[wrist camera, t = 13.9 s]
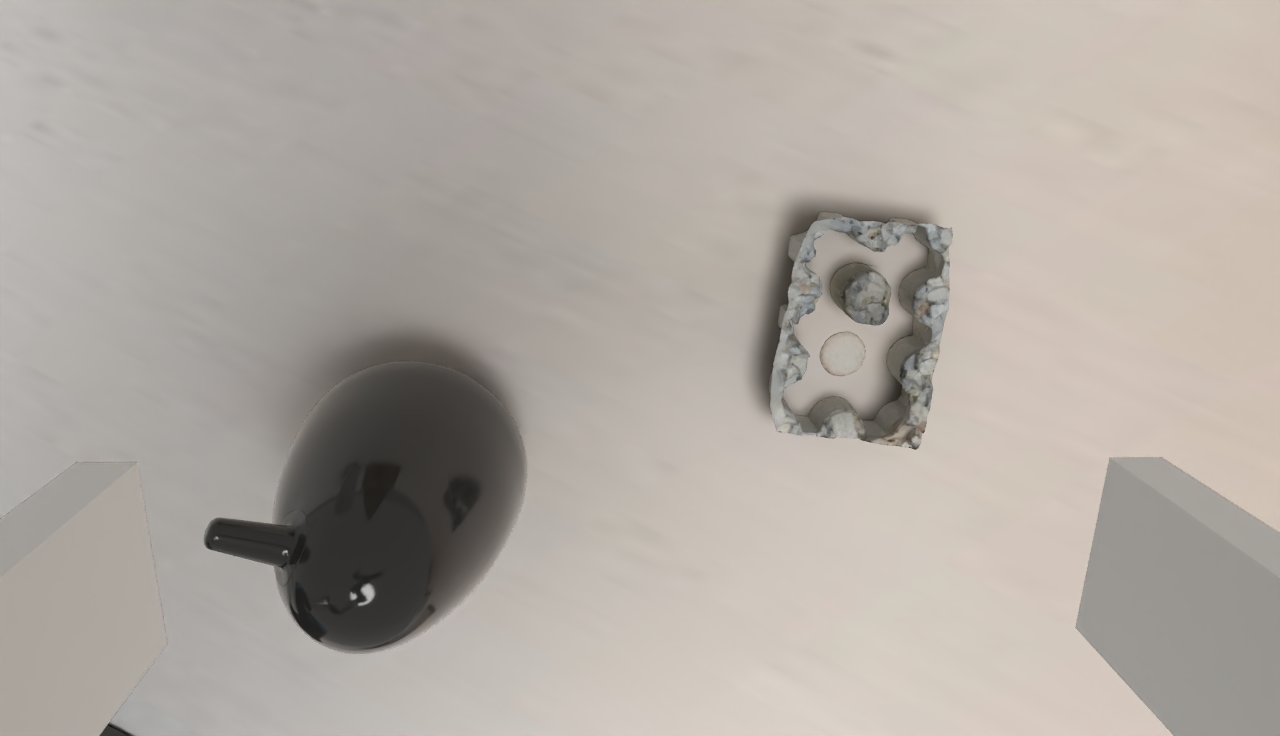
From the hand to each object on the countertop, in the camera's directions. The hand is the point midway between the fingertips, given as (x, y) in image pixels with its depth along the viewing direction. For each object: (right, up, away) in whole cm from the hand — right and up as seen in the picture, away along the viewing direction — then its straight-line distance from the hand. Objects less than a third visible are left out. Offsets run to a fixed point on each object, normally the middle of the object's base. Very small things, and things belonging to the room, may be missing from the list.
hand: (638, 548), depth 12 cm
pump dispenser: (-10, -1, +31) cm, 33 cm away
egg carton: (+10, +5, +31) cm, 33 cm away
